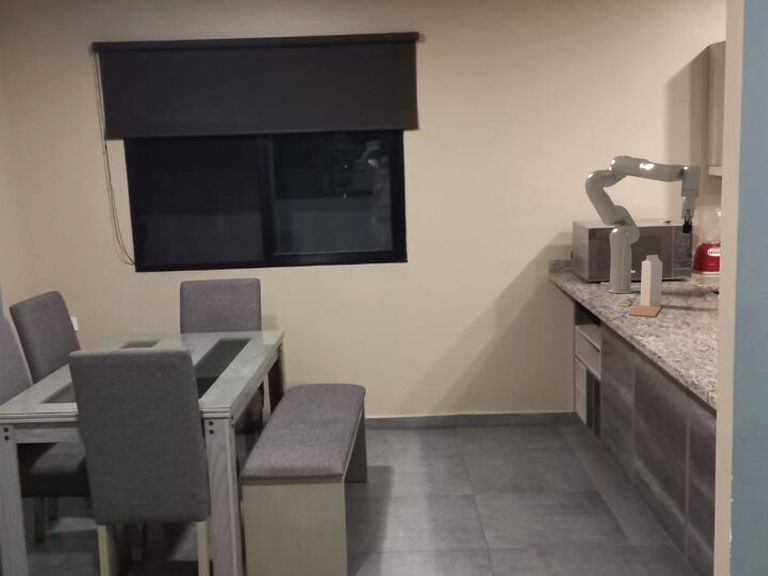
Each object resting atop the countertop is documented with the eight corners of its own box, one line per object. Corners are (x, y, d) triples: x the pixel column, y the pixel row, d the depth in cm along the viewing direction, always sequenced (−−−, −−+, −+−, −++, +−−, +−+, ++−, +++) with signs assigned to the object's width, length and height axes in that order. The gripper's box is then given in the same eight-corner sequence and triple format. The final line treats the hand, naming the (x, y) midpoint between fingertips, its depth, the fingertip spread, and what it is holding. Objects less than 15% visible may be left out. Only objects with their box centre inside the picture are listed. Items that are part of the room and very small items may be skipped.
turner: (628, 307, 325) (628, 305, 325) (619, 306, 326) (619, 304, 326) (633, 301, 338) (633, 298, 338) (625, 300, 339) (625, 298, 339)
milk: (640, 305, 329) (641, 254, 325) (651, 303, 331) (653, 253, 327) (649, 307, 323) (651, 256, 320) (661, 306, 325) (662, 255, 322)
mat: (628, 315, 308) (628, 314, 307) (636, 306, 325) (636, 305, 325) (654, 317, 303) (654, 315, 303) (661, 308, 321) (661, 306, 320)
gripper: (682, 192, 343) (679, 229, 346) (679, 194, 328) (676, 233, 331) (700, 192, 340) (697, 230, 343) (698, 195, 324) (695, 234, 328)
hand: (687, 232), depth 337 cm, fingers open, 9 cm apart
